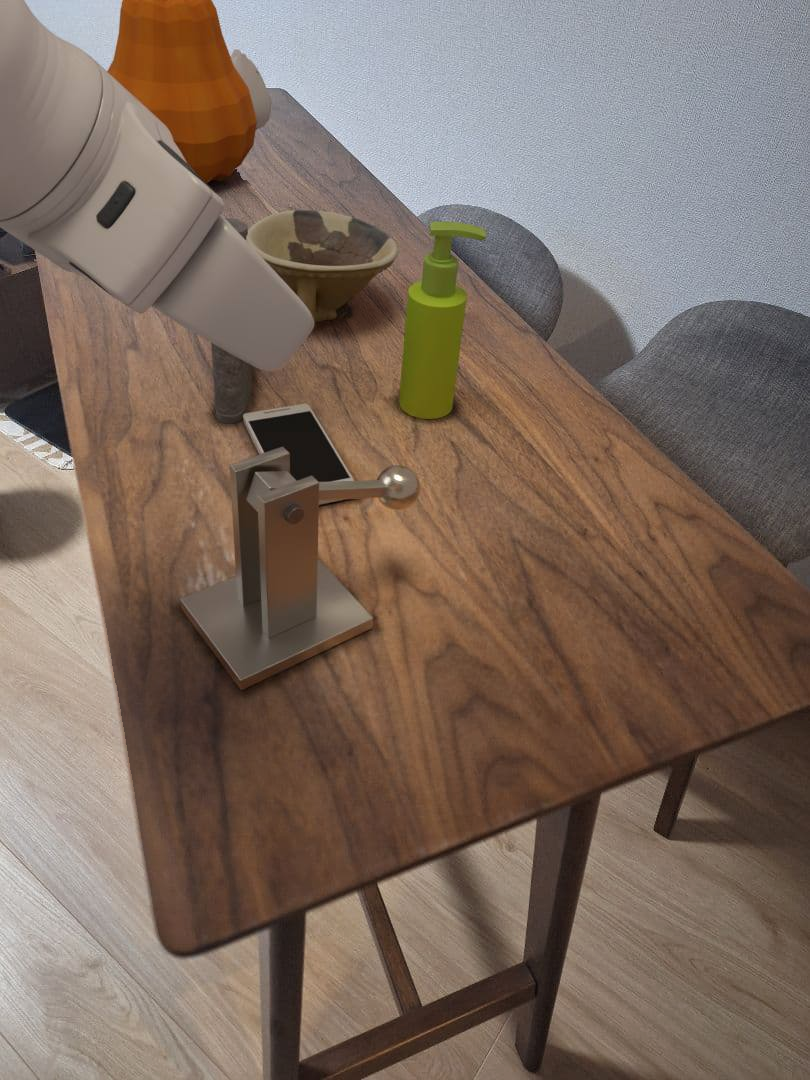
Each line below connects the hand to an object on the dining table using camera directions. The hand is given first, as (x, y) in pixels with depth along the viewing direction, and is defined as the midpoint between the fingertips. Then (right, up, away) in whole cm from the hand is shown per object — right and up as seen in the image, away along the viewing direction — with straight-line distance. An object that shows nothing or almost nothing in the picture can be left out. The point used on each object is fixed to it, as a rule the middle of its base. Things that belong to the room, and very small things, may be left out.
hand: (264, 315), depth 56 cm
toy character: (-20, +60, +107) cm, 124 cm away
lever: (+3, -11, +15) cm, 19 cm away
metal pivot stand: (-2, -20, +18) cm, 27 cm away
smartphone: (-2, -6, +35) cm, 35 cm away
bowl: (-2, +15, +58) cm, 60 cm away
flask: (-10, +3, +44) cm, 45 cm away
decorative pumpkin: (-27, +44, +88) cm, 102 cm away
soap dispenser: (+11, +1, +44) cm, 45 cm away
